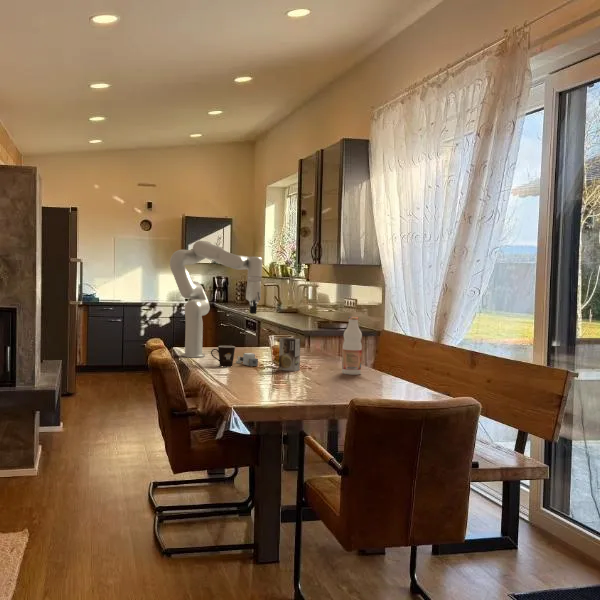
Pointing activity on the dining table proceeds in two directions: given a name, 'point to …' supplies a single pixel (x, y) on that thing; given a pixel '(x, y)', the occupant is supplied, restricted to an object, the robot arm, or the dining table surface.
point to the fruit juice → (352, 348)
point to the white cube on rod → (247, 357)
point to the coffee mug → (225, 355)
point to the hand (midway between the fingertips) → (253, 313)
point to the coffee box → (289, 354)
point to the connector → (252, 362)
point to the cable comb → (238, 360)
